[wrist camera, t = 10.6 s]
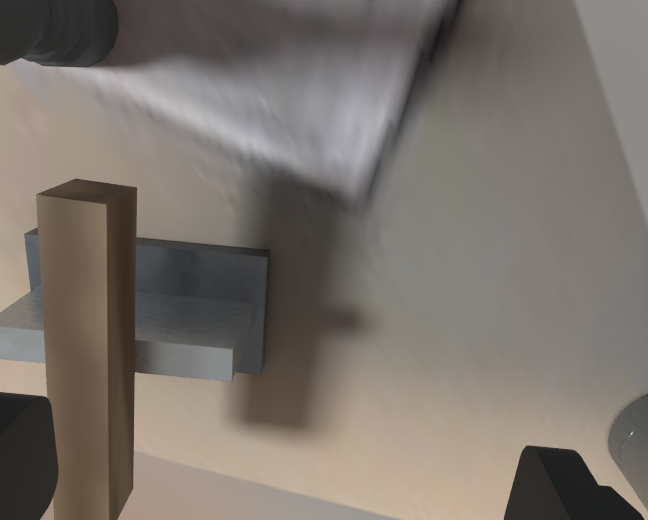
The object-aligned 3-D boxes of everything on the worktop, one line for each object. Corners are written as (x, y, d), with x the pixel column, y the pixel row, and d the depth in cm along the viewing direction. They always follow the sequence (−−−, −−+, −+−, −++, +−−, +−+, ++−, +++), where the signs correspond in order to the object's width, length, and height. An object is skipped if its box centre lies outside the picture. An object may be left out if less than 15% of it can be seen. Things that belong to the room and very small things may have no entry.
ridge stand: (270, 250, 40) (250, 296, 32) (263, 364, 43) (245, 431, 35) (35, 228, 40) (-43, 267, 32) (48, 343, 43) (-20, 405, 35)
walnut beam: (136, 187, 30) (106, 204, 26) (133, 488, 37) (109, 535, 33) (75, 178, 30) (36, 194, 26) (84, 481, 37) (54, 527, 33)
